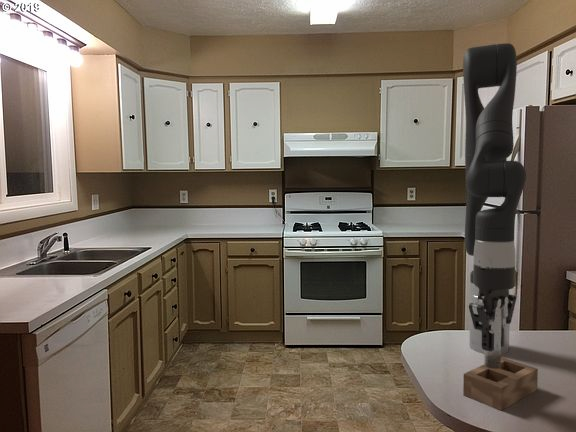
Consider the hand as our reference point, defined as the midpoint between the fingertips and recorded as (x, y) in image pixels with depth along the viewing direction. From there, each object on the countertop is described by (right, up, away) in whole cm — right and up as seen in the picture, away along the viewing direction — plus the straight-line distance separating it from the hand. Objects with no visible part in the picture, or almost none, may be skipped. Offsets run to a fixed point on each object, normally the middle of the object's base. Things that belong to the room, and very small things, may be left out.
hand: (492, 347), depth 91 cm
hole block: (+3, -10, +3) cm, 11 cm away
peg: (0, -4, 0) cm, 4 cm away
